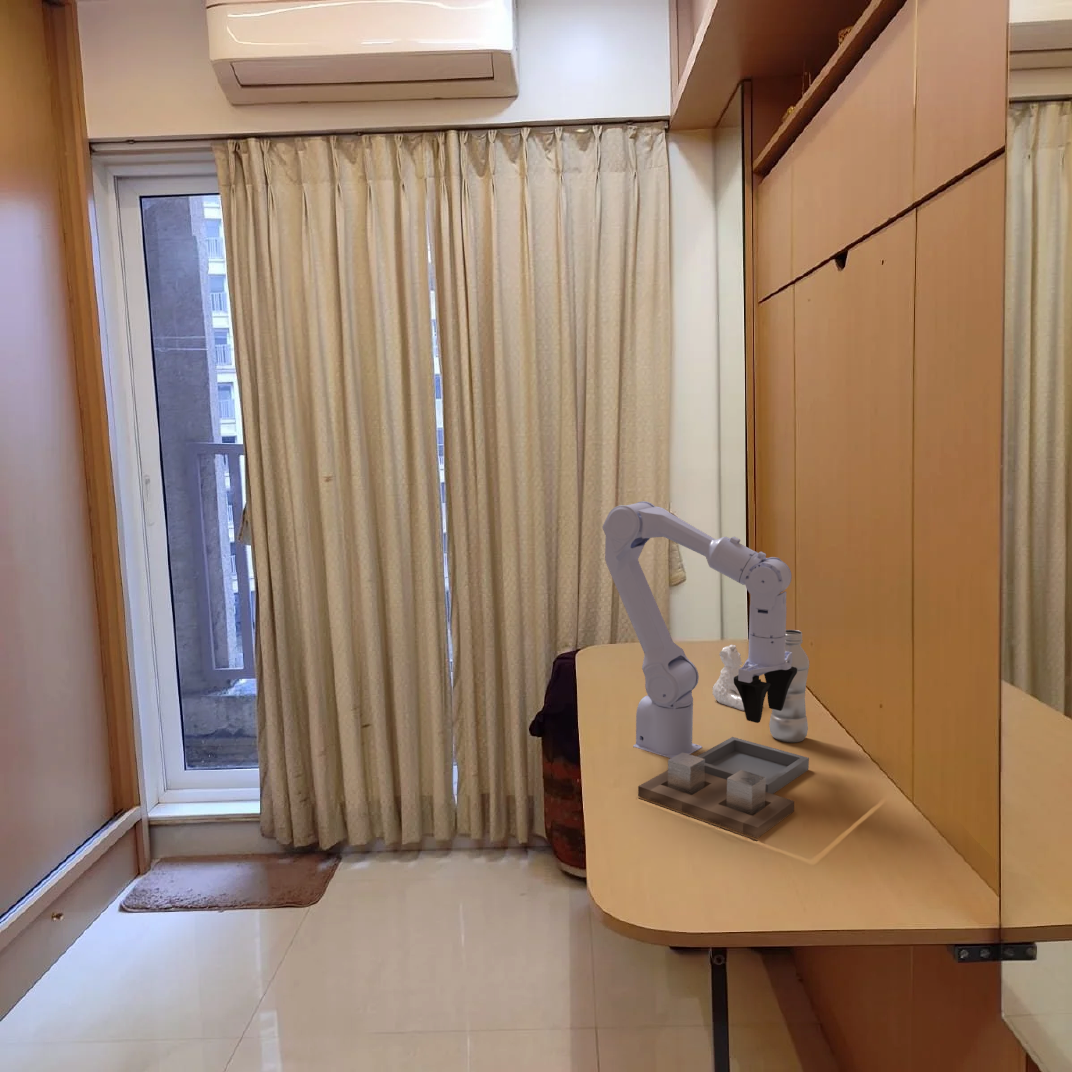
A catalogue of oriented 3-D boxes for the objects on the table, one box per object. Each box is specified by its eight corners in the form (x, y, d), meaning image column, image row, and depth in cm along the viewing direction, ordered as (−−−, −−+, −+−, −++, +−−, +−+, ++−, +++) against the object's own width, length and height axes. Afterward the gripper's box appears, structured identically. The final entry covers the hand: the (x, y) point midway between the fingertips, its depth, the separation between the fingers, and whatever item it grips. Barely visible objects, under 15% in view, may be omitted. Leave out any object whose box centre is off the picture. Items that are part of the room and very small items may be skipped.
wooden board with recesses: (638, 798, 130) (638, 786, 129) (678, 776, 138) (678, 764, 137) (757, 841, 116) (757, 827, 116) (793, 813, 124) (794, 801, 124)
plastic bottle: (809, 748, 149) (813, 637, 146) (769, 745, 150) (773, 635, 148) (805, 735, 155) (809, 628, 153) (767, 732, 157) (770, 626, 154)
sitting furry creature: (748, 712, 168) (750, 653, 166) (705, 706, 171) (707, 648, 170) (759, 698, 176) (760, 642, 174) (717, 693, 180) (719, 637, 178)
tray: (688, 775, 138) (688, 760, 138) (732, 750, 148) (732, 736, 148) (767, 800, 129) (767, 784, 128) (808, 772, 139) (808, 757, 138)
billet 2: (726, 817, 123) (727, 778, 123) (740, 808, 126) (740, 769, 125) (751, 826, 121) (752, 786, 120) (764, 816, 124) (765, 777, 123)
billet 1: (667, 797, 130) (668, 759, 129) (681, 788, 133) (682, 752, 132) (689, 804, 127) (690, 766, 127) (704, 796, 130) (704, 759, 130)
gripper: (768, 647, 129) (765, 732, 131) (810, 629, 139) (807, 709, 141) (727, 639, 134) (725, 722, 135) (771, 623, 144) (768, 700, 146)
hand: (764, 715), depth 139 cm, fingers open, 7 cm apart
